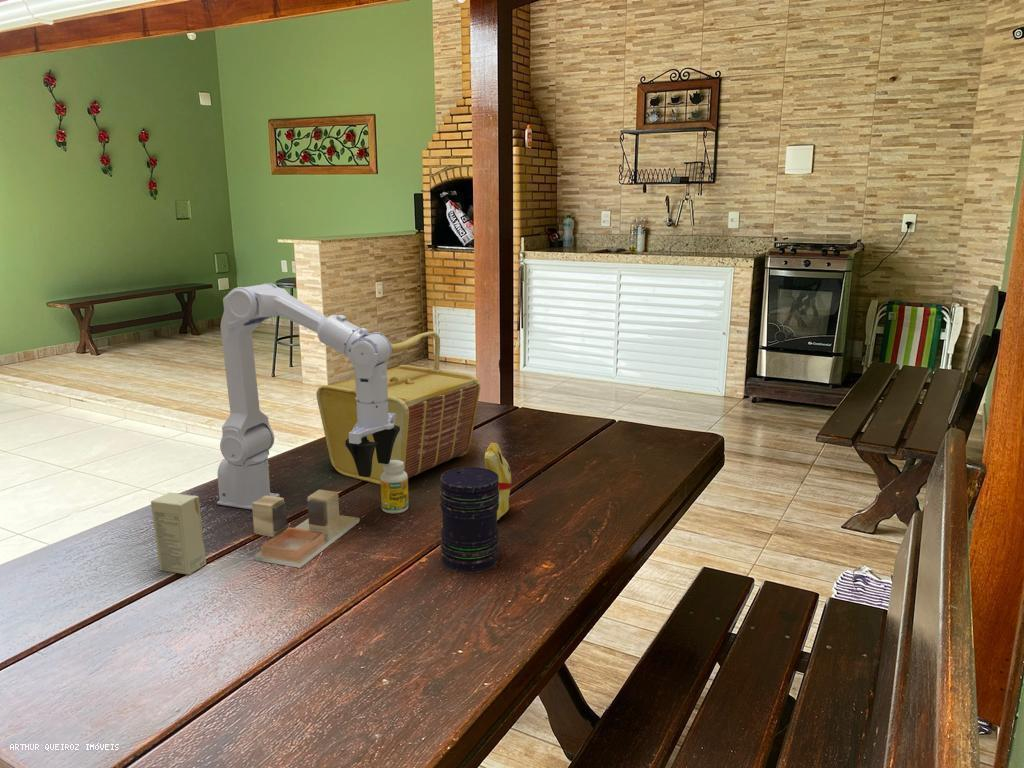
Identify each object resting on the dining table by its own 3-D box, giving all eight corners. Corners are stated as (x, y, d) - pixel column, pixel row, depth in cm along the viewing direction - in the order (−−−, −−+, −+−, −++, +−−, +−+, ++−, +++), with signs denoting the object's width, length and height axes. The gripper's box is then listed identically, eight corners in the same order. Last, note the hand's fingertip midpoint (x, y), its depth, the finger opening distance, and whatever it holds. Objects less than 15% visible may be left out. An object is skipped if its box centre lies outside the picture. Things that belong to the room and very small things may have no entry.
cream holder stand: (253, 559, 128) (251, 522, 127) (318, 515, 147) (316, 482, 145) (300, 567, 126) (297, 529, 124) (359, 521, 144) (358, 488, 143)
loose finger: (267, 525, 142) (265, 495, 141) (288, 528, 141) (286, 498, 140) (254, 533, 139) (252, 503, 137) (275, 537, 137) (273, 506, 136)
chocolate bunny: (518, 508, 151) (518, 436, 148) (493, 529, 141) (493, 452, 138) (487, 503, 154) (487, 432, 151) (461, 522, 144) (460, 447, 141)
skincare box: (207, 564, 126) (201, 495, 124) (188, 576, 122) (182, 505, 120) (176, 558, 128) (169, 490, 126) (157, 569, 124) (149, 500, 122)
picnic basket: (405, 496, 157) (401, 354, 150) (315, 473, 170) (308, 341, 163) (483, 458, 181) (483, 334, 174) (400, 440, 194) (397, 324, 188)
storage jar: (511, 560, 129) (511, 477, 126) (467, 579, 122) (467, 492, 119) (472, 542, 136) (472, 462, 133) (429, 559, 129) (427, 476, 126)
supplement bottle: (401, 501, 154) (400, 456, 152) (413, 510, 150) (412, 464, 148) (376, 507, 151) (375, 461, 149) (388, 516, 147) (386, 469, 145)
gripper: (373, 411, 132) (375, 485, 135) (408, 392, 145) (410, 460, 148) (337, 407, 134) (340, 480, 137) (375, 389, 147) (378, 456, 151)
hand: (374, 469), depth 143 cm, fingers open, 7 cm apart
